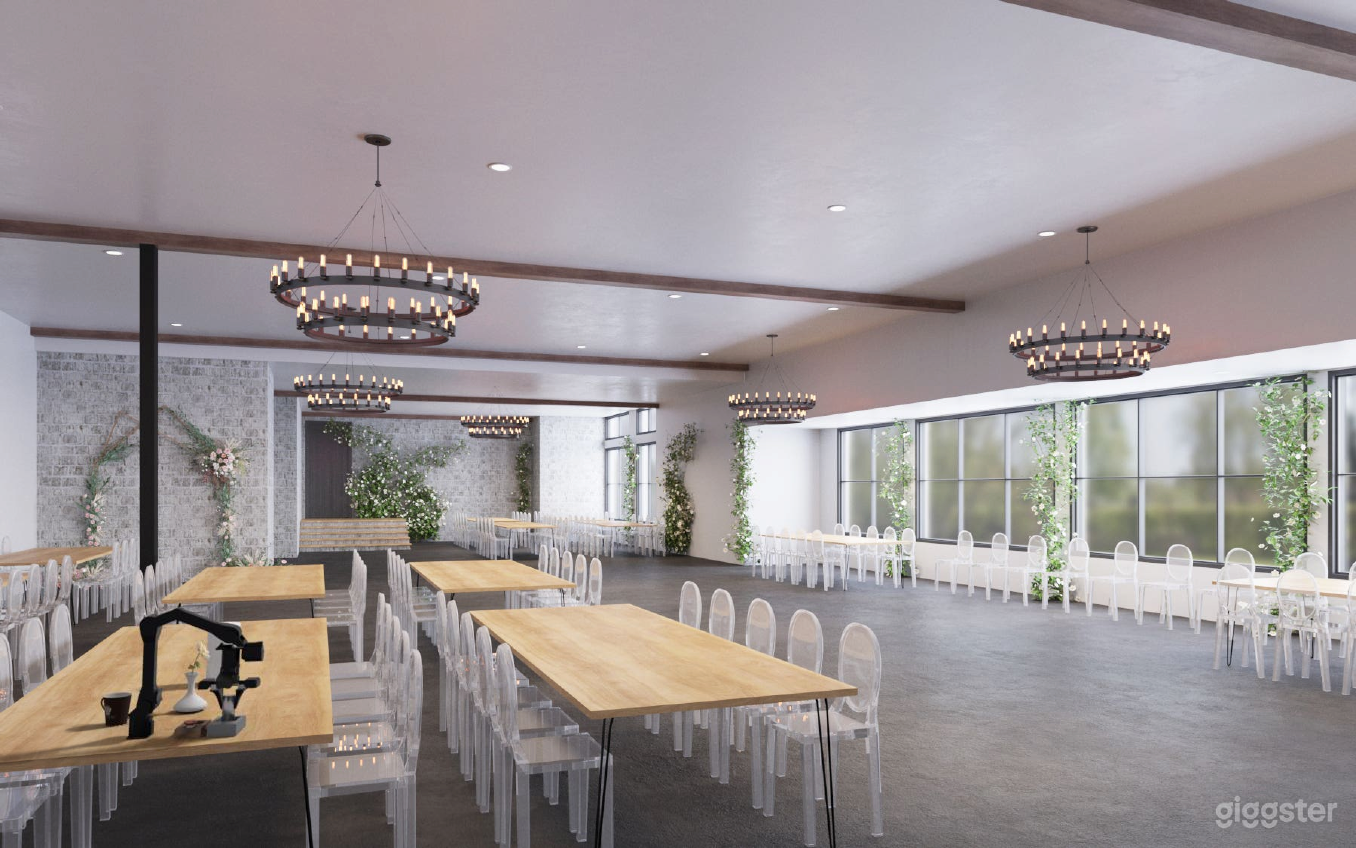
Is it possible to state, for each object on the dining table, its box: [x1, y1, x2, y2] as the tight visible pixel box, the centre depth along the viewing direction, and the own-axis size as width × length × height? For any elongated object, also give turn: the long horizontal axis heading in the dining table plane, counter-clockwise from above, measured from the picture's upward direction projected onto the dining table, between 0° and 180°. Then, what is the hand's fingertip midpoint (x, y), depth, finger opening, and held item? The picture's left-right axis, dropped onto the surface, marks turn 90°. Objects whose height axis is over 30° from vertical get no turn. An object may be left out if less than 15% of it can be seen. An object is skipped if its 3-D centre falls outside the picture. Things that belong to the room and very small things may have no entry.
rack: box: [206, 714, 247, 738], centre depth 313 cm, size 9×12×4 cm
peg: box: [221, 693, 236, 721], centre depth 315 cm, size 4×4×8 cm
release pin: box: [183, 719, 198, 728], centre depth 308 cm, size 4×4×4 cm
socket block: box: [173, 719, 213, 740], centre depth 311 cm, size 8×12×3 cm, turn 11°
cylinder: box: [205, 621, 242, 681], centre depth 392 cm, size 12×12×25 cm
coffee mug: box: [100, 691, 133, 727], centre depth 324 cm, size 12×9×10 cm
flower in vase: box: [172, 641, 210, 713], centre depth 344 cm, size 13×11×25 cm
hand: (228, 709), depth 315 cm, fingers closed on peg, 4 cm apart
